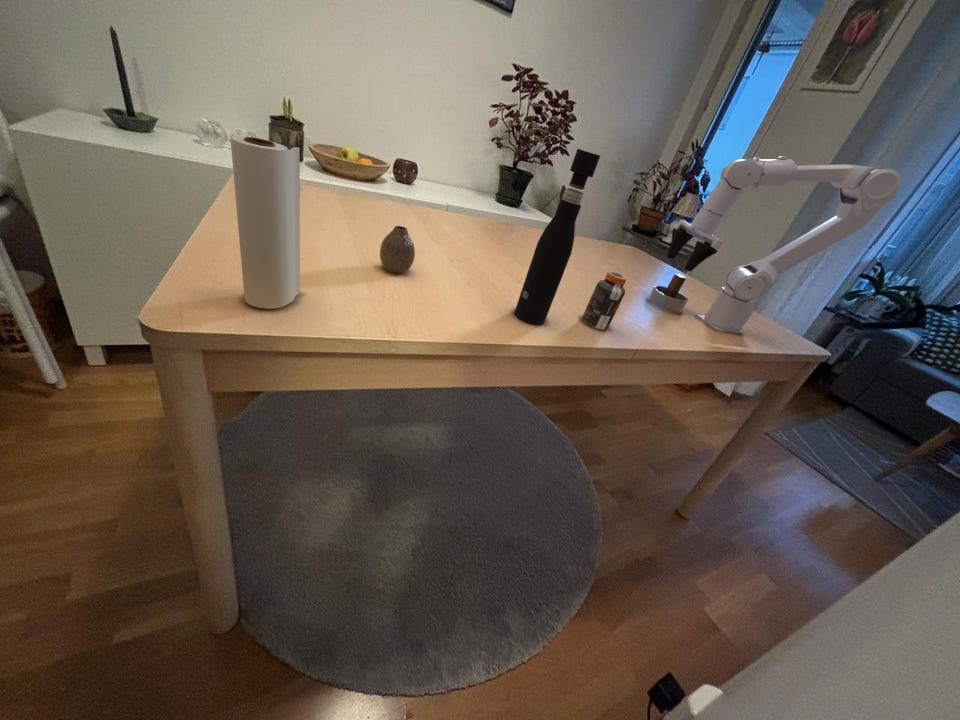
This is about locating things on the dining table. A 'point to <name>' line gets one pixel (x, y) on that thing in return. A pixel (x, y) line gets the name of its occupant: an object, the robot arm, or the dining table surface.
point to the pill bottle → (605, 301)
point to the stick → (675, 285)
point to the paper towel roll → (268, 219)
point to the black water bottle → (554, 246)
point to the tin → (667, 300)
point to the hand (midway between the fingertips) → (678, 263)
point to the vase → (397, 251)
